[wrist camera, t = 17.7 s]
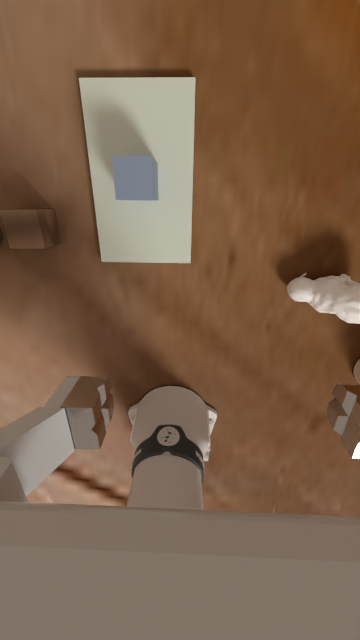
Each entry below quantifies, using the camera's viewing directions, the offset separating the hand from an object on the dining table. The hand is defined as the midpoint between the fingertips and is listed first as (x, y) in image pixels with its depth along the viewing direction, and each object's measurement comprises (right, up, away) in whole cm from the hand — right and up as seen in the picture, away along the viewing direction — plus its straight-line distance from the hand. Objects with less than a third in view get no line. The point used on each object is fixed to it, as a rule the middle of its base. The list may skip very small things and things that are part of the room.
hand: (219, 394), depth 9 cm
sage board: (-7, +22, +26) cm, 35 cm away
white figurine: (+21, +8, +32) cm, 39 cm away
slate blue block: (-7, +22, +25) cm, 34 cm away
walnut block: (-23, +17, +29) cm, 41 cm away
